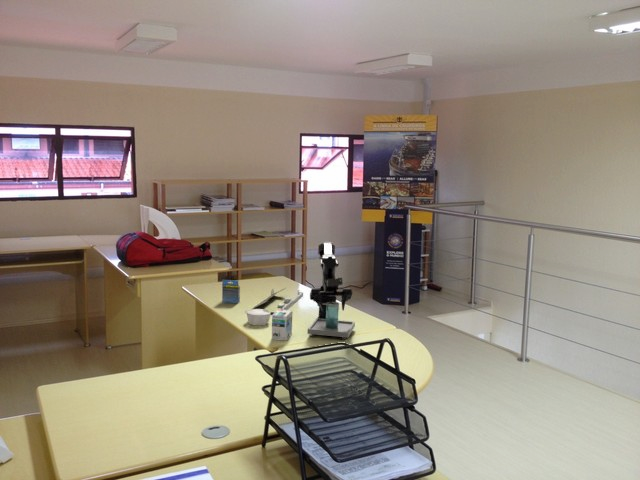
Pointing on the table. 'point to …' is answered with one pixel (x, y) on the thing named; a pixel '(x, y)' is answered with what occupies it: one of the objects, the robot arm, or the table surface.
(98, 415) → the table surface
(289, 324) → the light bulb box
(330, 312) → the teal canister
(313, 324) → the shallow grey tray
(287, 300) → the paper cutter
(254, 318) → the ramekin
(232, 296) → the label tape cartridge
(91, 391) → the table surface
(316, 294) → the robot arm
